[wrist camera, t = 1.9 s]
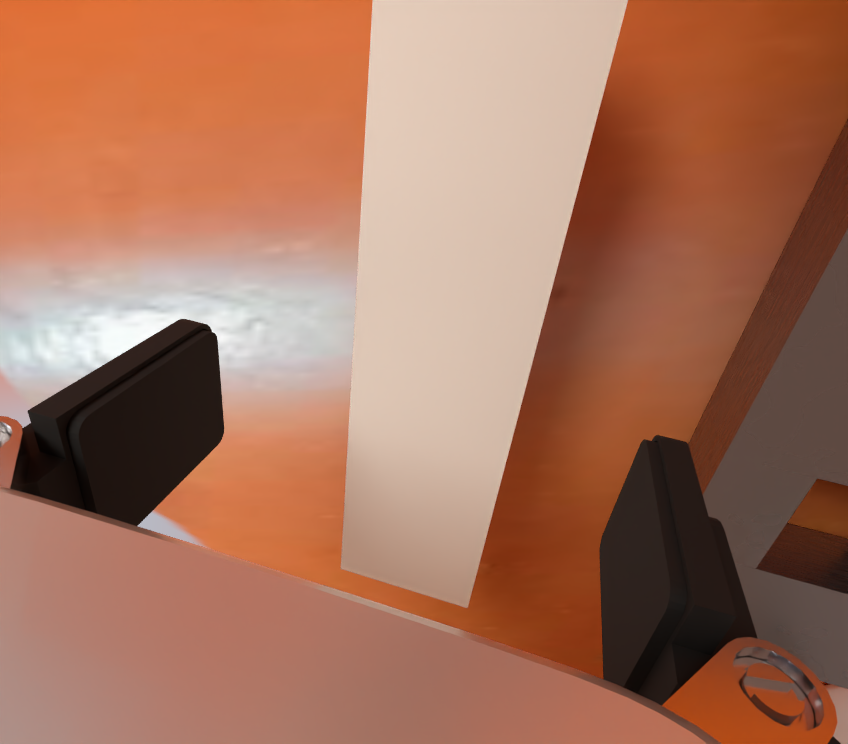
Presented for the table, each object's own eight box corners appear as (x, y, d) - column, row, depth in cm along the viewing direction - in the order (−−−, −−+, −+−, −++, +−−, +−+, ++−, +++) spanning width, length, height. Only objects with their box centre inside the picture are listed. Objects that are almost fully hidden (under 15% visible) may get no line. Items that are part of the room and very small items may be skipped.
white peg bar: (468, -68, 15) (381, -155, 9) (630, -50, 14) (662, -131, 8) (404, 437, 24) (340, 568, 18) (499, 462, 24) (467, 608, 18)
